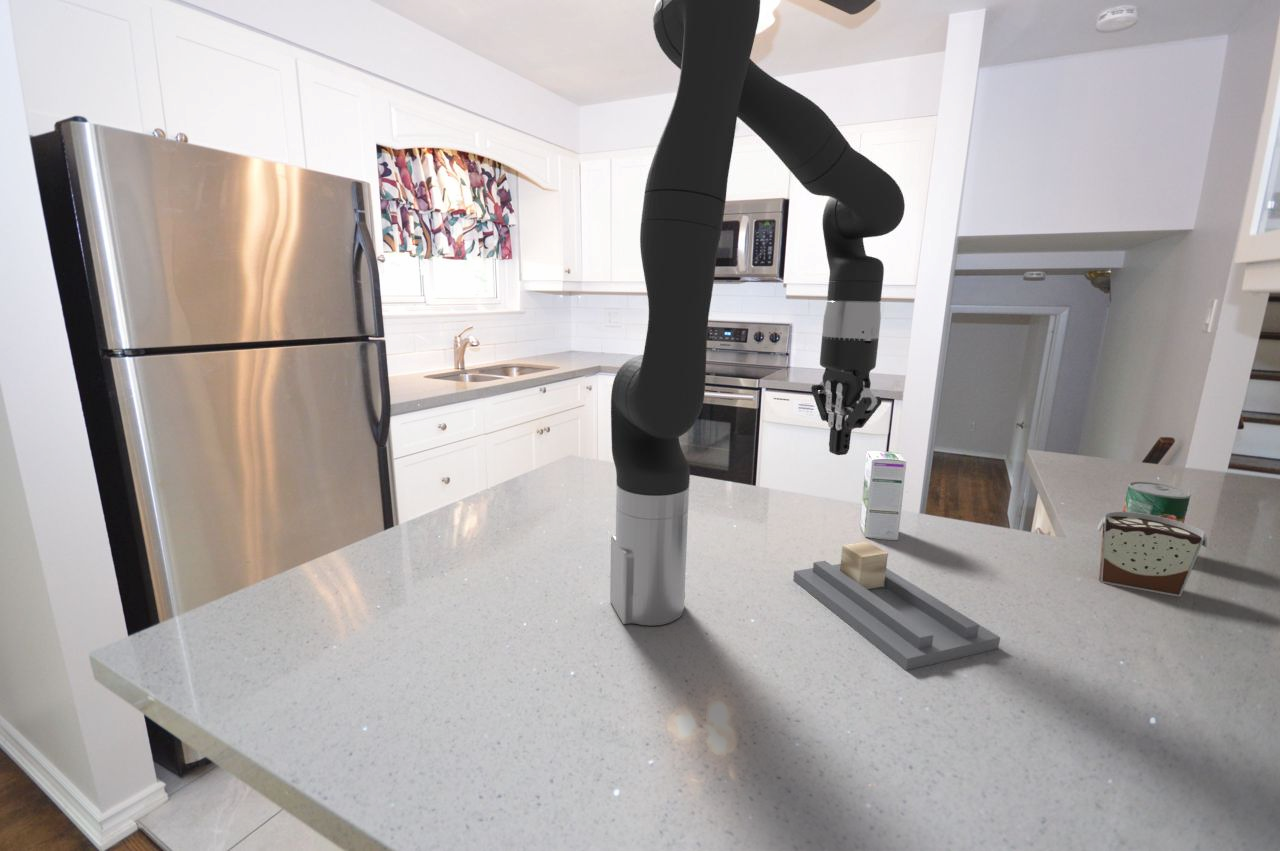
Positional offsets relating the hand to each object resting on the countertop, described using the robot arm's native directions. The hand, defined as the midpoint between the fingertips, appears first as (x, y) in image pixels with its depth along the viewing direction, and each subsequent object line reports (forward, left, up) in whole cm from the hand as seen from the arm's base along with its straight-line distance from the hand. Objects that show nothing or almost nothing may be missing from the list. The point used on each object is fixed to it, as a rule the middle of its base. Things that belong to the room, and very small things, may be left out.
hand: (838, 453), depth 84 cm
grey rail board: (0, -13, -18) cm, 22 cm away
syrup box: (+18, +9, -19) cm, 28 cm away
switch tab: (0, -7, -17) cm, 18 cm away
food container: (+43, -17, -19) cm, 50 cm away
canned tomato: (+58, -10, -19) cm, 62 cm away
